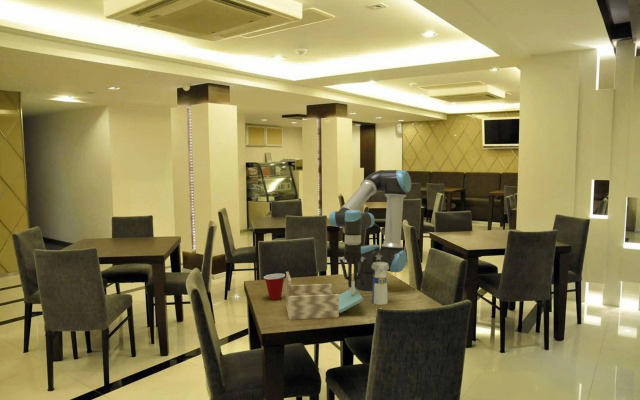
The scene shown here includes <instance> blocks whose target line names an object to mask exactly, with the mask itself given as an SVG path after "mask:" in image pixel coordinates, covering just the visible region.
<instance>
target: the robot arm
mask: <svg viewBox="0 0 640 400" xmlns="http://www.w3.org/2000/svg"><path fill="white" fill-rule="evenodd" d="M411 189H412V179H411V176H410V174H409V172H408V171H406V170H402V169H389V170H388V169H386V170H385V169H381V170H376V171H374V172H373V173H371V174H368V175H367V176H366V177H365V178H364V179H363V180H362V181H361V182H360V186H359V187H358V188H357V189H356V191H355V192H354V193H353V194H352V195H351V196H350V197H349V199H347V200H346V201H345V203H344V204H343V205H342V206H341V207H340V208H339V210H338V211H337V210H335V211H331V212H330V213H329V216H328V222H329V224H330V226H332V227H337V228H344V243H345V244H344V254H343V256H342V257H341V258H339V259H338V261H339V262H340V265H341V269H342V274H343V277H344V279H345V280H347V283H348V288H349V289H350V294H351V295H355V289H356V290H360V291H372V290H373V282H374V281H373V278H374V277H373V274H374V269H372V264H373V263H374V262H386V263H388V266H389V269H388V270H387V271H386V272H390V273H400V272H402V271H403V270H404V268H405V266H406V265H407V259H408V256H407V252H406V250H404V246H403V245H402V243H401V241H402V240H401V239H402V225H403V224H402V223H403V212H404V211H403V209H404V199H405V198H406V197H407V193H409V192H410V191H411ZM379 192H383V193H384V196H385V197H386V208H385V209H386V210H385V212H386V213H385V226H384V229H385V230H384V242H383V243H382V244H381V246H380V245H379V244H368V245H363V246H362V245H361V243H362V230H367V229H369V228H372V227H373V226H374V225H375V222H376V221H375V220H376V219H375V216H374V214H372V213H370V212H362V211H361V208H362V207H363V206H364V204H365V203H366V202H367V201H368V200H369V199H370V197H371V196H373V195H375V194H376V193H379ZM378 253H379V255H380V256H382V257H381V258H380V259H381V260H379V259H378V260H377V257H376V255H378ZM345 261H346V262H347V269H346V265H345ZM352 266H353V267H352ZM352 268H353V269H352ZM352 271H353V273H352ZM352 275H353V277H352Z"/></svg>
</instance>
